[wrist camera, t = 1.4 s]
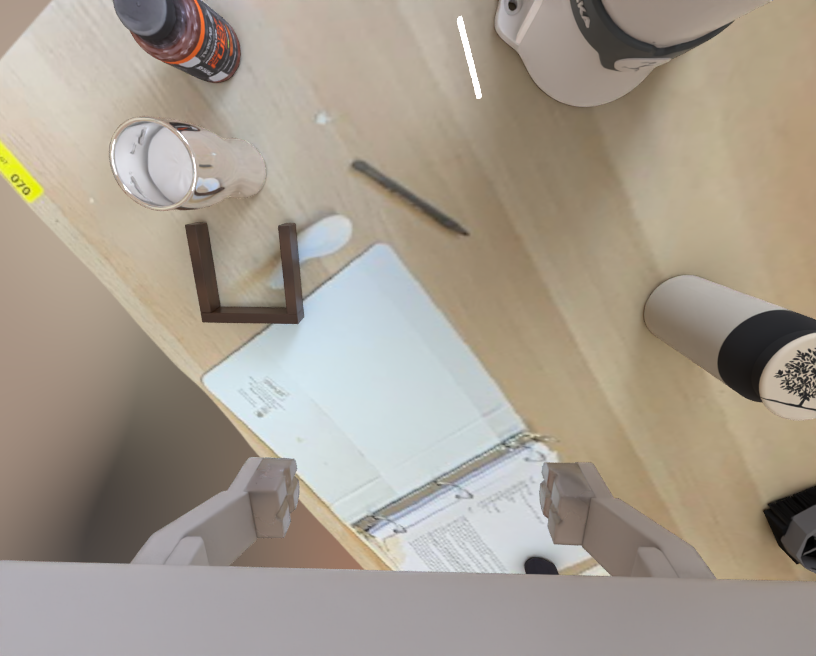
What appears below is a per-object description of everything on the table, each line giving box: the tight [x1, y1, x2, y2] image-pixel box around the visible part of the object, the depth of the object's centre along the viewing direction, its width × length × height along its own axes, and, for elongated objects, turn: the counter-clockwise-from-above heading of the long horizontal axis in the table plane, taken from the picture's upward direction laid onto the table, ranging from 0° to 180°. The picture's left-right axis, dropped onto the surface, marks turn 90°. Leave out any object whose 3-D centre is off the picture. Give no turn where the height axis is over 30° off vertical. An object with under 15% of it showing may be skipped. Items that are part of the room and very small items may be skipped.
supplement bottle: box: [113, 0, 241, 83], centre depth 35 cm, size 6×6×11 cm
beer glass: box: [109, 116, 266, 211], centre depth 37 cm, size 7×7×15 cm
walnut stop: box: [185, 223, 304, 324], centre depth 47 cm, size 11×11×2 cm
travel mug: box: [644, 275, 816, 420], centre depth 39 cm, size 8×8×18 cm
